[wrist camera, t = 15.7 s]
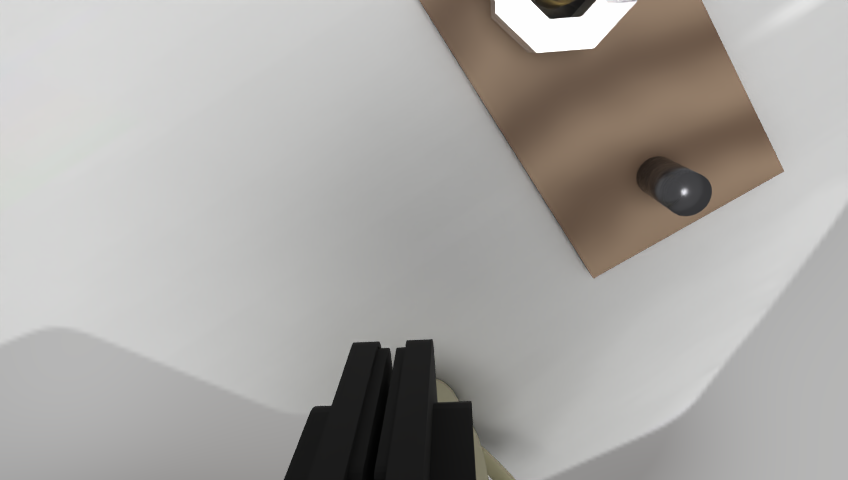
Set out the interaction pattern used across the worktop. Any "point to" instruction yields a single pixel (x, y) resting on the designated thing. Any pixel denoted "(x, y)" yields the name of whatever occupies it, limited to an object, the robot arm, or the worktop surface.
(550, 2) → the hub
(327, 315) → the worktop surface
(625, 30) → the base board
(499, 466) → the mug
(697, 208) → the stand rod
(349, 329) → the worktop surface
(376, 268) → the worktop surface
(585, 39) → the white octagonal block
